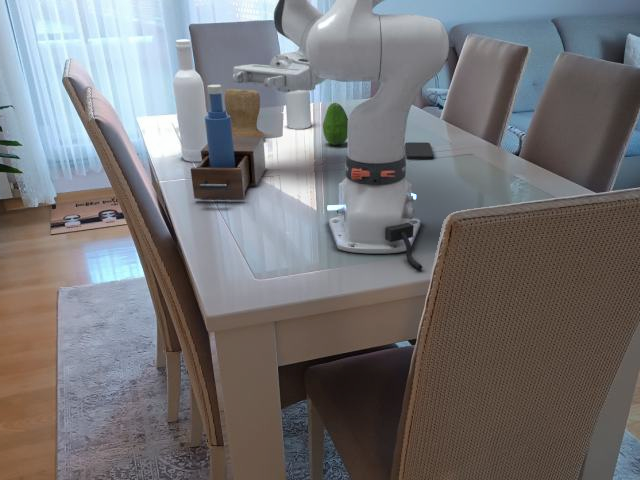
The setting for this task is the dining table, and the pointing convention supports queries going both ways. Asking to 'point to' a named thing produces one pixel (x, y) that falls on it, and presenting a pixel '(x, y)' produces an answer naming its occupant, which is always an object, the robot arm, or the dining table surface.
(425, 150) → the phone
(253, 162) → the cabinet
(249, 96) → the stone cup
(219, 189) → the drawer
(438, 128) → the dining table surface
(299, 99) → the pill bottle
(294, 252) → the dining table surface
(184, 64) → the bottle
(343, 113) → the avocado
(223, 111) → the bottle
